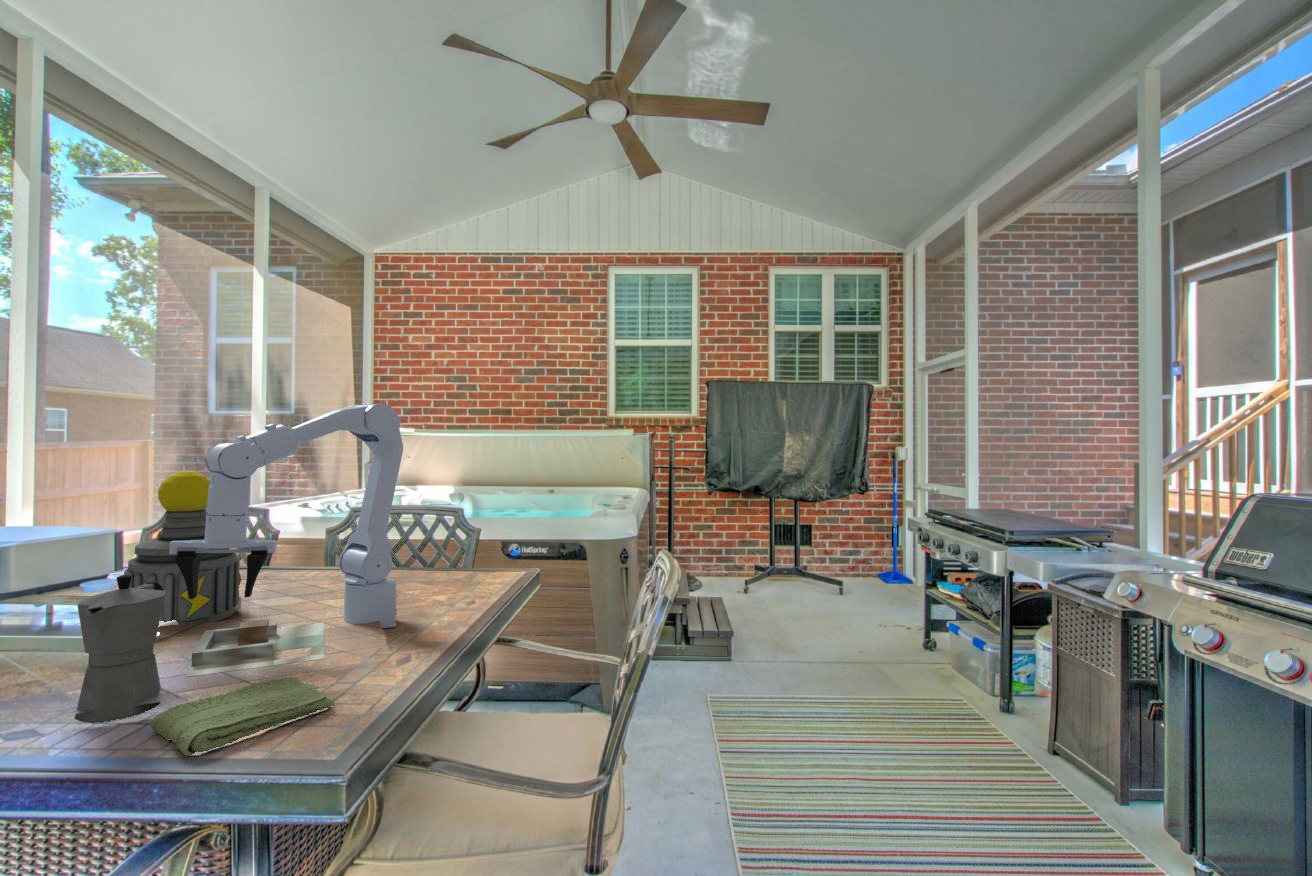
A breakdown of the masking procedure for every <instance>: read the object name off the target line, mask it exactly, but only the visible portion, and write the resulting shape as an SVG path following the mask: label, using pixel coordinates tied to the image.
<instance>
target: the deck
mask: <svg viewBox="0 0 1312 876" xmlns="http://www.w3.org/2000/svg"><path fill="white" fill-rule="evenodd" d="M238 636H239V627H237V626H236V627H235V626H234V627H227V628H217V629H208V630H207V629H206V630H205V631H204V632H203V634H202V635H201V637H200V640H199V641H198V643H197V644H196V646H195V648H194V649H193V651H192V653H191V667H190V668H189V670H188V672H187V674H186V675H185V678H189V677H197V676H205V675H212V674H219V673H227V672H235V671H243V670H251V669H257V668H258V669H259V668H265V667H267V668H268V667H273V666H281V665H288V664H289V665H290V664H295V663H297V664H298V663H303V662H311V661H318V660H319V661H320V660H325V659H326V658H325V657H326V656H325V622H317V623H315V622H314V623H308V624H306V623H305V624H298V625H290V626H288V625H287V626H278V623H277V622H276V623H269V642H268V643H259V644H251V645H242V646H238ZM301 648H302V649H304V648H310V655H305V656H298V657H289V658H281V659H276V655H277V652H280V651H287V650H295V649H301Z"/></svg>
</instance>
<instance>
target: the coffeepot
mask: <svg viewBox="0 0 1312 876" xmlns="http://www.w3.org/2000/svg"><path fill="white" fill-rule="evenodd" d="M131 578H132V576H130V575H124V574H122V575H119V576H117V577H116V581H117V583H116V584H117V586H118V588H116V589H112V590H109V591H105V592H102V593H98V594H94V595H91V596H87V597H83V598H81V600H80V601H79V602H78V603H77V605H76V606H77V611H78V617H79V618H78V619H79V623H80V629H81V635H82V641H83V647H84V653H85V654H88V662H87V666H86V669H85V672H84V678H83V681H82V686H81V689H80V694H79V698H78V702H77V706H76V709H77V710H80V711H81V710H82V711H87V712H80V713H76V714H75V716H74V720H77V721H79V722H81V721H82V722H81V723H88V724H96V723H95V722H101V723H105V722H104V721H109V722H112V721H111V720H116V719H121V720H123V719H122V718H125V719H127V718H126V717H129V718H132V717H131V716H133V717H135V716H134V715H136V716H138V715H141V713H142V714H144V713H146V712H145V711H147V712H149V711H151V710H153V709H154V708H156V707H157V706H159V705H160V704H161V701H157V702H149V703H143V702H146V701H148V700H150V699H153V698H155V697H157V696H159V695H160V692H161V687H162V686H161V681H160V675H159V671H158V670H159V669H158V665H157V660H156V655H155V653H154V645H155V643H156V639H157V632H159V627H158V626H159V621H160V616H161V611H162V606H163V601H164V596H165V592H166V591H164V590H163V588H162V587H161V585H160V584H159V583H158V582H156V581H152V582H150V583H148V584H145V585H140V586H138V587H137V588H129V586H130V582H131ZM141 703H143V704H141ZM152 708H153V709H152ZM148 710H149V711H148ZM116 721H117V720H116Z"/></svg>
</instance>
